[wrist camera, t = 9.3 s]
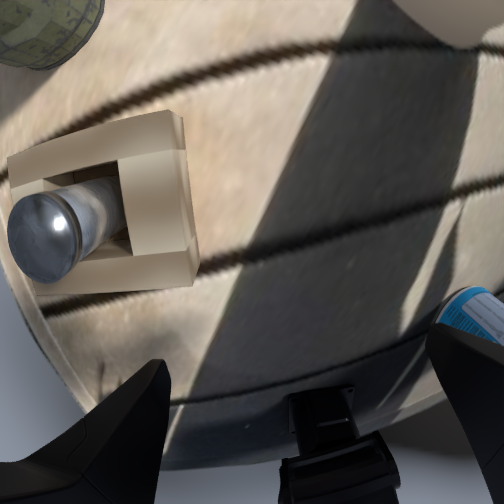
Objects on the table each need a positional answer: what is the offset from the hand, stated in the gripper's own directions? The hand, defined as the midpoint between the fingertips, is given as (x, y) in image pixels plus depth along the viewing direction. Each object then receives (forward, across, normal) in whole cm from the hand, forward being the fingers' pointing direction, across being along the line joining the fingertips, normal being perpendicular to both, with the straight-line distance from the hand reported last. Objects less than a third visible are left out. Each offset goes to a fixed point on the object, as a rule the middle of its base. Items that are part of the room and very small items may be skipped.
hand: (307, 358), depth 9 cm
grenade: (+13, +15, -20) cm, 28 cm away
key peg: (+12, +11, -4) cm, 17 cm away
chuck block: (+12, +11, -4) cm, 17 cm away
